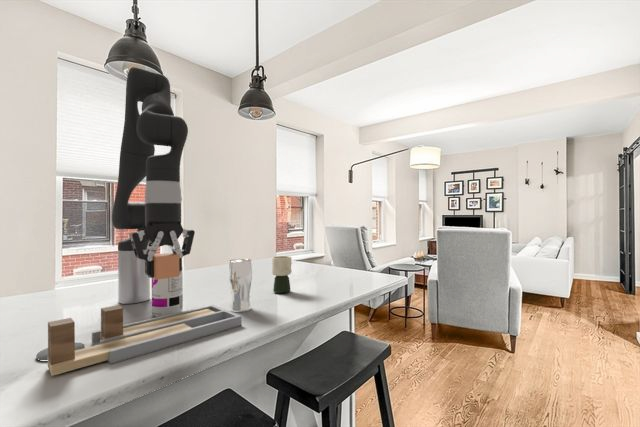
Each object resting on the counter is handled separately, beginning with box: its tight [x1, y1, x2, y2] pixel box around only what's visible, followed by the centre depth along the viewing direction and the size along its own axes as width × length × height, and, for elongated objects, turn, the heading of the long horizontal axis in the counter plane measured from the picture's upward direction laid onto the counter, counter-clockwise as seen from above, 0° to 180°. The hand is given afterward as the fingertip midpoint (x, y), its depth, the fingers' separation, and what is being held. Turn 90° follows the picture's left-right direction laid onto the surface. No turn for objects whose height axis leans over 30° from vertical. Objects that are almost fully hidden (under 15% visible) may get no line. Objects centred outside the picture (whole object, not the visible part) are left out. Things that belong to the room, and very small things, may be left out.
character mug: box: [271, 255, 293, 294], centre depth 120 cm, size 11×7×13 cm, turn 39°
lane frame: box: [91, 304, 243, 365], centre depth 79 cm, size 15×30×2 cm, turn 136°
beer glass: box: [227, 258, 253, 313], centre depth 99 cm, size 7×7×15 cm
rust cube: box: [153, 252, 179, 280], centre depth 75 cm, size 5×5×5 cm
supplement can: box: [151, 269, 184, 318], centre depth 95 cm, size 8×8×15 cm
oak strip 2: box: [100, 304, 214, 340], centre depth 81 cm, size 6×26×8 cm, turn 136°
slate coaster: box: [35, 342, 86, 360], centre depth 69 cm, size 8×8×1 cm
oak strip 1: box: [47, 317, 191, 377], centre depth 69 cm, size 6×26×9 cm, turn 136°
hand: (163, 275), depth 75 cm, fingers closed on rust cube, 5 cm apart
